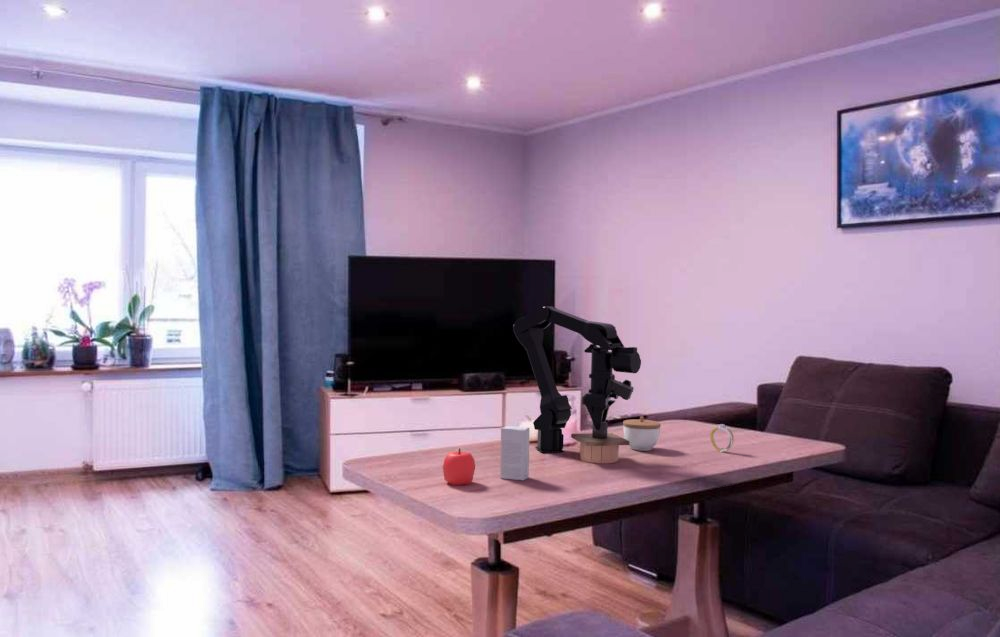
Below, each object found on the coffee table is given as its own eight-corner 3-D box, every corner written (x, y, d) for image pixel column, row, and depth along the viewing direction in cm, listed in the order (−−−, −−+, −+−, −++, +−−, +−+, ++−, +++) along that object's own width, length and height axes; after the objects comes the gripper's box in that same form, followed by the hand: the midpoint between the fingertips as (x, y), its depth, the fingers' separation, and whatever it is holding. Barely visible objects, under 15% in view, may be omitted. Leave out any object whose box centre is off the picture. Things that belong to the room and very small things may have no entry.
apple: (448, 488, 165) (448, 452, 165) (436, 480, 172) (437, 445, 172) (481, 485, 168) (482, 450, 168) (468, 477, 175) (469, 444, 175)
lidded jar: (663, 453, 211) (664, 420, 210) (625, 451, 211) (626, 419, 211) (655, 445, 221) (656, 414, 221) (620, 444, 221) (620, 413, 221)
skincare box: (529, 477, 177) (530, 427, 177) (523, 481, 173) (525, 430, 173) (505, 474, 179) (506, 425, 179) (499, 478, 175) (500, 428, 175)
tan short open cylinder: (588, 464, 193) (588, 445, 193) (575, 456, 203) (575, 437, 203) (623, 463, 196) (624, 444, 195) (609, 455, 205) (610, 437, 205)
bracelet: (708, 450, 216) (709, 422, 216) (715, 449, 218) (716, 422, 218) (727, 454, 211) (728, 426, 210) (735, 453, 212) (735, 425, 212)
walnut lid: (586, 445, 192) (586, 426, 192) (571, 437, 204) (571, 419, 203) (629, 445, 195) (629, 426, 195) (611, 436, 206) (612, 418, 206)
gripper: (625, 375, 187) (623, 436, 188) (637, 369, 205) (635, 425, 205) (582, 372, 191) (580, 432, 191) (597, 367, 208) (596, 422, 209)
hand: (599, 428), depth 199 cm, fingers open, 5 cm apart
